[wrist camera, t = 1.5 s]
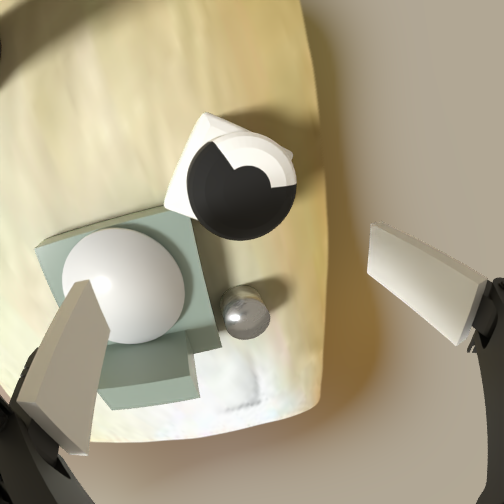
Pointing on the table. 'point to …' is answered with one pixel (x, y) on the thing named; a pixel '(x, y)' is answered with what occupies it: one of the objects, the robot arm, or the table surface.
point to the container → (232, 180)
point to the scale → (140, 302)
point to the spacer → (244, 312)
